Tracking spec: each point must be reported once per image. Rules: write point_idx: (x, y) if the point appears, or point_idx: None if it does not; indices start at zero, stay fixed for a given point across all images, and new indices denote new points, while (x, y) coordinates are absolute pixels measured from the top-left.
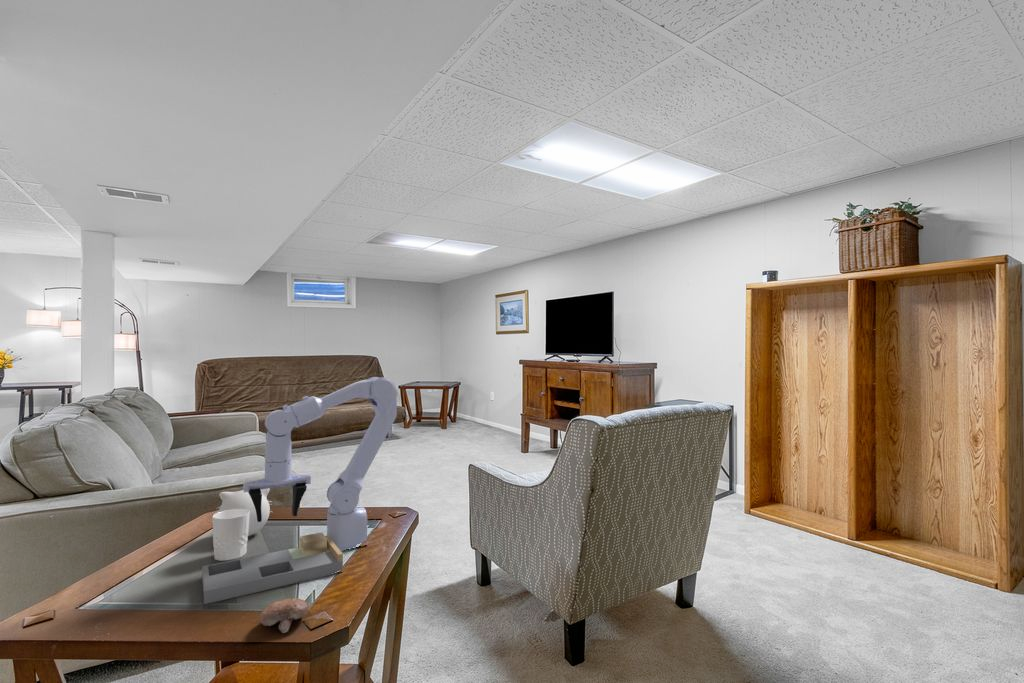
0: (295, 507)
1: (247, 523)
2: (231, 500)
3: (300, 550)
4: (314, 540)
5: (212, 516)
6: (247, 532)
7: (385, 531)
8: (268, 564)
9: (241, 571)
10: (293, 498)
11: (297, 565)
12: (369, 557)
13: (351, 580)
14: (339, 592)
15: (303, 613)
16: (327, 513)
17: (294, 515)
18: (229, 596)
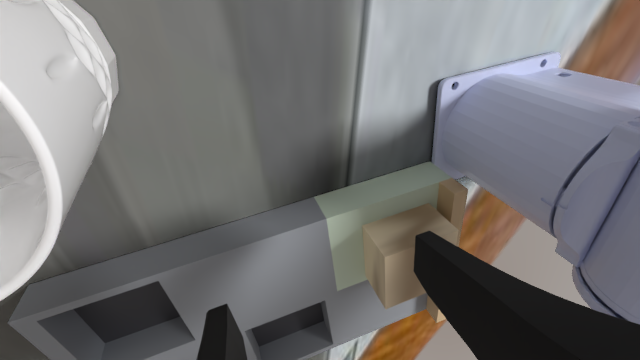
0: (453, 320)
1: (86, 160)
2: None
3: (363, 238)
4: (416, 294)
5: None
6: (103, 120)
7: (635, 23)
8: (270, 316)
9: (198, 351)
10: (500, 322)
11: (343, 323)
12: (491, 222)
13: (420, 313)
14: (391, 347)
15: None
16: (552, 197)
17: (419, 273)
18: None
